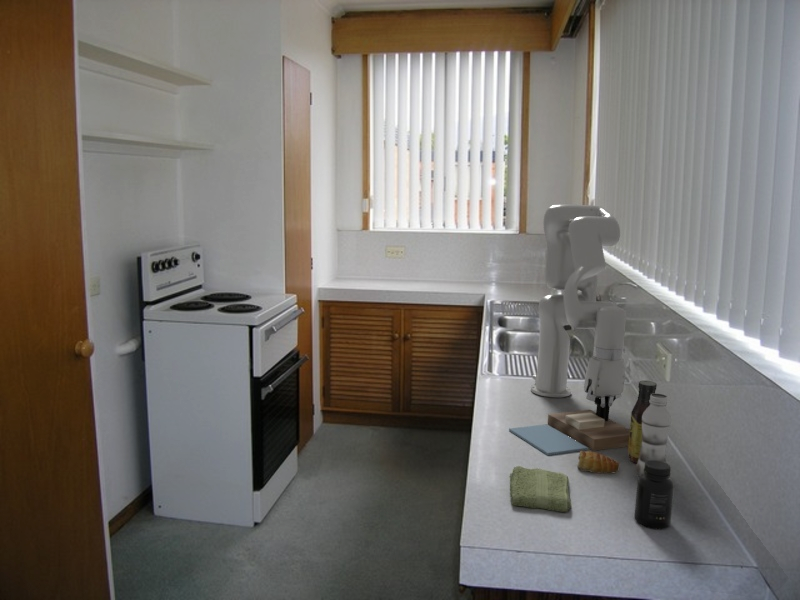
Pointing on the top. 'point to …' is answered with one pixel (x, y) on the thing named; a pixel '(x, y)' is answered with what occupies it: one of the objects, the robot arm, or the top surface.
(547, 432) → the rubber mat
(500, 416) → the top surface
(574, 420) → the birch tile
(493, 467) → the top surface
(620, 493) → the top surface
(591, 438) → the walnut stand
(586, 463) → the pastry
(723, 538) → the top surface
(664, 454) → the plastic bottle
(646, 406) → the sauce bottle
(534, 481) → the washcloth
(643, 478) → the supplement bottle
